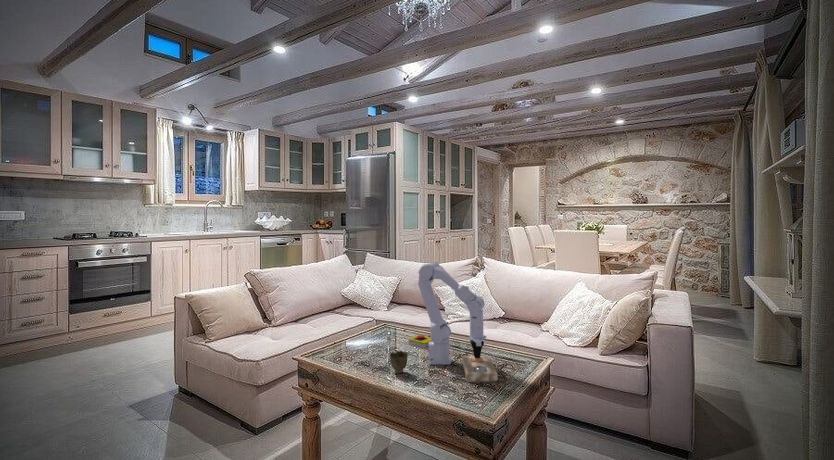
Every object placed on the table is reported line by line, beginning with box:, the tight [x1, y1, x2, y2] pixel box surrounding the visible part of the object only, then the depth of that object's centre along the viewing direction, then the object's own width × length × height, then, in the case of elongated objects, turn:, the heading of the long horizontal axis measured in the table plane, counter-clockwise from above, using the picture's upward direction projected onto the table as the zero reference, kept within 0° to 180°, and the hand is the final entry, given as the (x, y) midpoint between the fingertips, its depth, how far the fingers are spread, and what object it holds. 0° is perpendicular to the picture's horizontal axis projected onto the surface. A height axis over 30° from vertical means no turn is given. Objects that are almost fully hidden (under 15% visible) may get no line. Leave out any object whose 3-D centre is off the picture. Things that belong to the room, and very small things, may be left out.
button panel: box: [461, 355, 499, 383], centre depth 164 cm, size 12×20×3 cm, turn 178°
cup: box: [389, 350, 408, 374], centre depth 165 cm, size 8×7×8 cm
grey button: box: [475, 366, 486, 372], centre depth 159 cm, size 4×4×3 cm
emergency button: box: [407, 334, 432, 350], centre depth 202 cm, size 9×4×15 cm
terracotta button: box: [472, 355, 482, 362], centre depth 169 cm, size 4×4×3 cm
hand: (477, 357), depth 169 cm, fingers closed, pressing on terracotta button
